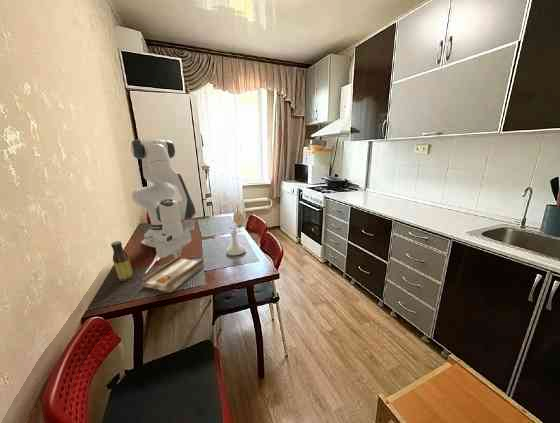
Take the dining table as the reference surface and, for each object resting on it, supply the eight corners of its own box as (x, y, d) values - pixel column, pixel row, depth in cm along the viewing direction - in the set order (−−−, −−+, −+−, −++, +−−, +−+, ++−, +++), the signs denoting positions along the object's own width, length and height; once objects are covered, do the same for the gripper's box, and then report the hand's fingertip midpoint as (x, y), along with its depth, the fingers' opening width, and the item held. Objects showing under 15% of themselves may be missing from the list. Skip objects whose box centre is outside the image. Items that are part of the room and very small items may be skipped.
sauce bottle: (123, 275, 119) (113, 240, 114) (135, 274, 120) (127, 239, 114) (115, 282, 113) (105, 245, 107) (129, 281, 114) (119, 244, 108)
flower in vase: (229, 259, 132) (224, 217, 124) (224, 251, 141) (219, 212, 134) (250, 253, 137) (247, 213, 130) (244, 246, 147) (240, 208, 140)
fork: (142, 275, 120) (141, 272, 120) (156, 256, 139) (156, 253, 139) (148, 274, 121) (147, 271, 120) (162, 256, 139) (161, 253, 139)
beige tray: (143, 286, 109) (141, 279, 108) (180, 262, 130) (178, 255, 129) (170, 292, 104) (168, 284, 103) (203, 265, 125) (202, 259, 124)
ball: (156, 284, 109) (157, 276, 109) (163, 281, 113) (163, 273, 112) (163, 286, 108) (163, 278, 107) (170, 283, 111) (170, 275, 111)
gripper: (182, 224, 125) (186, 247, 129) (151, 239, 106) (156, 266, 111) (192, 225, 123) (195, 249, 127) (162, 241, 104) (167, 268, 109)
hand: (177, 257), depth 119 cm, fingers closed
